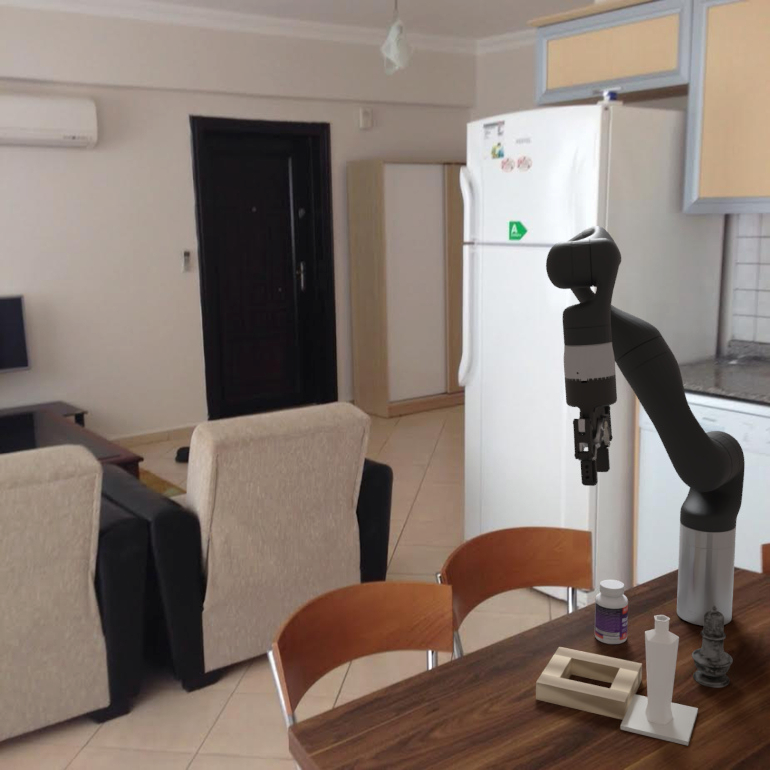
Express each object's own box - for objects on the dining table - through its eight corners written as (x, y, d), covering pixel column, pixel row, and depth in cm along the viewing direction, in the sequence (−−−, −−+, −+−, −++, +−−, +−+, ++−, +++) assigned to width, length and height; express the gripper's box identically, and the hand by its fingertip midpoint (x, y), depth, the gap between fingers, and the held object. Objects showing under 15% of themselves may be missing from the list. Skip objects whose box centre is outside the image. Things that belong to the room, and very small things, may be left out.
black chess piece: (735, 690, 129) (739, 615, 127) (693, 687, 131) (697, 613, 128) (727, 670, 135) (731, 598, 133) (688, 667, 136) (691, 596, 134)
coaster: (634, 697, 128) (634, 694, 128) (697, 712, 124) (697, 708, 124) (620, 729, 120) (620, 725, 120) (688, 745, 116) (688, 741, 116)
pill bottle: (628, 646, 144) (630, 591, 142) (595, 644, 145) (596, 589, 143) (625, 631, 149) (626, 578, 147) (593, 629, 150) (594, 576, 148)
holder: (559, 662, 139) (559, 646, 138) (641, 680, 133) (642, 663, 132) (535, 699, 128) (536, 682, 128) (624, 720, 122) (624, 702, 122)
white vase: (677, 711, 123) (681, 613, 120) (673, 728, 119) (677, 627, 116) (644, 704, 125) (647, 608, 122) (639, 720, 121) (642, 621, 118)
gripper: (576, 368, 138) (583, 467, 140) (552, 380, 126) (559, 489, 127) (624, 366, 135) (630, 468, 137) (604, 379, 122) (611, 490, 124)
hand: (596, 478), depth 132 cm, fingers open, 8 cm apart
